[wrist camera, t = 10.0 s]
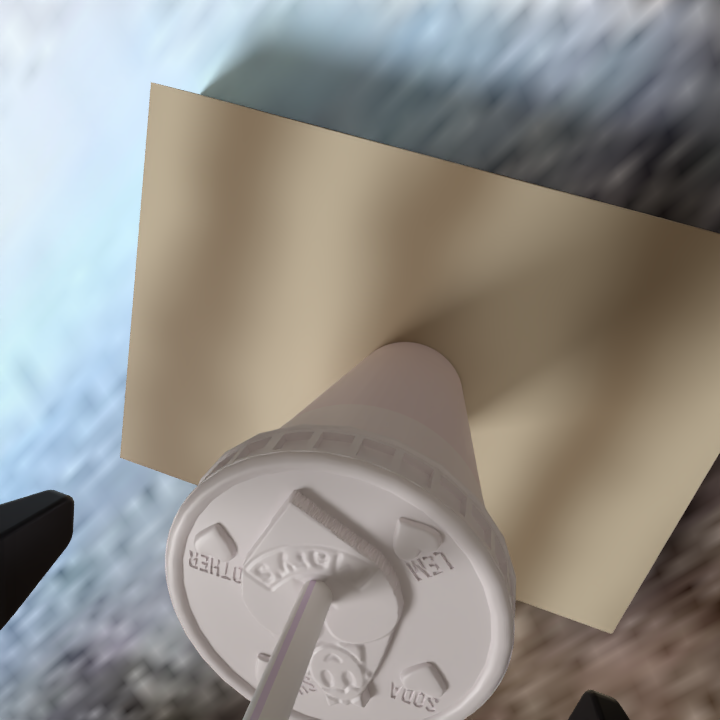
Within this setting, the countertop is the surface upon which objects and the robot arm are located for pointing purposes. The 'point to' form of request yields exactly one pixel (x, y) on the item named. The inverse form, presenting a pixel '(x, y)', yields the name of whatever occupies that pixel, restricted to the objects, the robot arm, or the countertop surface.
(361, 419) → the smoothie
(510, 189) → the plinth
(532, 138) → the countertop surface
